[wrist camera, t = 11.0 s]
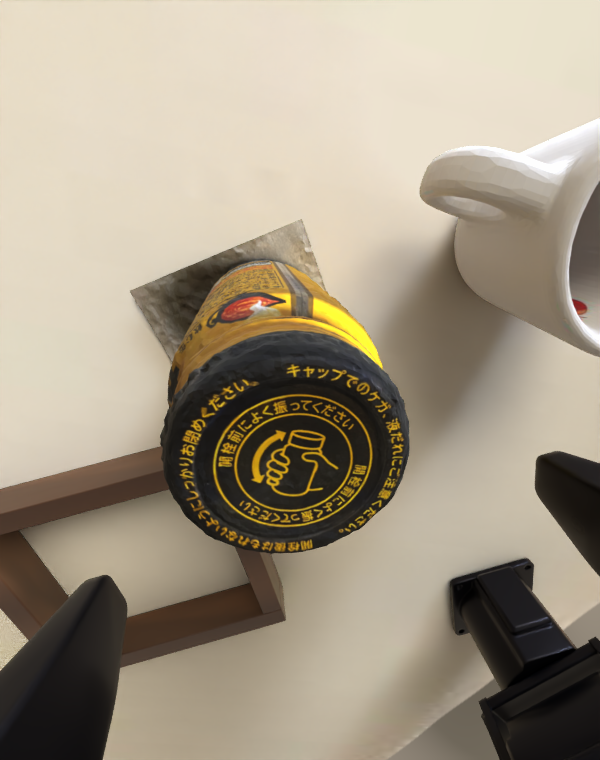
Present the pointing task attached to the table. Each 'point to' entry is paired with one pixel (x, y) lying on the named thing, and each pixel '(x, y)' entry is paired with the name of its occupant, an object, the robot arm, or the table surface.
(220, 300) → the condiment
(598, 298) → the cup
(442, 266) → the table surface
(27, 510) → the holder
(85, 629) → the robot arm
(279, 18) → the table surface
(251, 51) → the table surface
